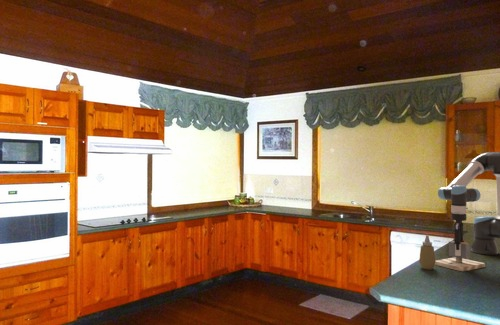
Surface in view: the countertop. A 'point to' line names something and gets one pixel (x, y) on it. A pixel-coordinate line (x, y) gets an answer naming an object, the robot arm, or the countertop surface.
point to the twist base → (459, 264)
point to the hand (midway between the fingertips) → (458, 254)
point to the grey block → (464, 250)
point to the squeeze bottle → (427, 255)
